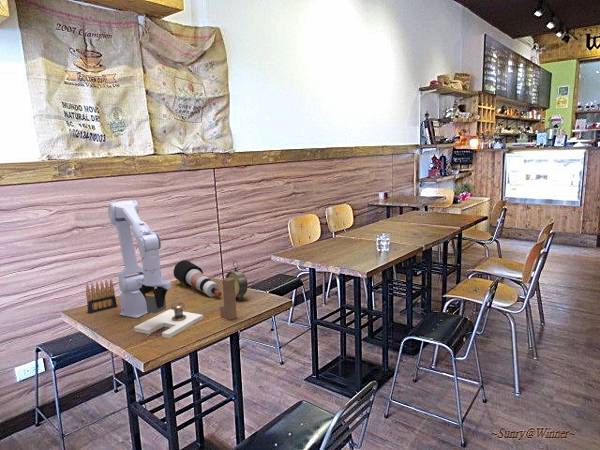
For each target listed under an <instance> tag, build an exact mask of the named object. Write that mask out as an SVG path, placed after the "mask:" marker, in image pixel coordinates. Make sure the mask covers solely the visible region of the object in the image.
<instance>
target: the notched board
mask: <svg viewBox="0 0 600 450" xmlns="http://www.w3.org/2000/svg"><path fill="white" fill-rule="evenodd" d="M183 315H186V319H185V320H182V321H173V320H172V317H173V316H175V315H174V310H173V309H171V308H170V309H167V310H166V311H163V312H161V313H160V314H158V315H155V316H154V317H151V318H150V319H147V320H145V321H143V322H142V323H140V324H139V323H138V324H137V325H135V326H133V331H134V332H136V333H141V334H145V335H151V334H153V333H154V332H156V331H158V330H160V329H162V328H163V327H165V328H168V329H166V330H165V331H162V332H161V337H162V338H166V339H170V338H172V337H174V336H175V335H177V334H180V333H181V332H182V331H184V330H186V329H188V328H190V327H191V326H193V325H195V324H196V323H198V322H200V321H202V320H203V319H204V315H203V314H200V313H196V312H195V313H194V312H188V311H183Z"/></svg>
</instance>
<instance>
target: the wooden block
mask: <svg viewBox="0 0 600 450" xmlns="http://www.w3.org/2000/svg"><path fill="white" fill-rule="evenodd" d="M221 280H222V293H223V294H222V295H223V304H222V305H220V306H219V313H220V316H221V317H223V318H225V319H227V320H228V321H232V320H234V319H237V317H238V315H237V314H238V313H237V312H238V311H237V303H236V302H237V301H236V298H237V297H236V298H235V283H234V279H233V278H230V277H229V278H226V277H225V278H222V279H221Z"/></svg>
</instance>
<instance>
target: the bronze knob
mask: <svg viewBox="0 0 600 450" xmlns="http://www.w3.org/2000/svg"><path fill="white" fill-rule="evenodd" d="M185 307H186V304H185V303H183V302H178V303H173V304H171V305H170V309H171V310H174V315H175V316H173V317H172V320H173V321H182V320H185V319H186V315H183V312H184V311H183V309H185Z"/></svg>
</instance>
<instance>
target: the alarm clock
mask: <svg viewBox="0 0 600 450" xmlns="http://www.w3.org/2000/svg"><path fill="white" fill-rule="evenodd" d="M235 263H236V265H237V267H235V265H234V264H235ZM232 266H233V267H234V270H233V271H229V272H228V271H227V273H226V274H225V278H229V277H230V278H233V279H234V283H235V298H239V299H240V301H241V302H243V296H245V295H246V293H247V291H248V280H247V277H246V275H245V273H244V272H242V271H241V270H238V268H239V264H238V262H237V261H236V260H233V262H232Z"/></svg>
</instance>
